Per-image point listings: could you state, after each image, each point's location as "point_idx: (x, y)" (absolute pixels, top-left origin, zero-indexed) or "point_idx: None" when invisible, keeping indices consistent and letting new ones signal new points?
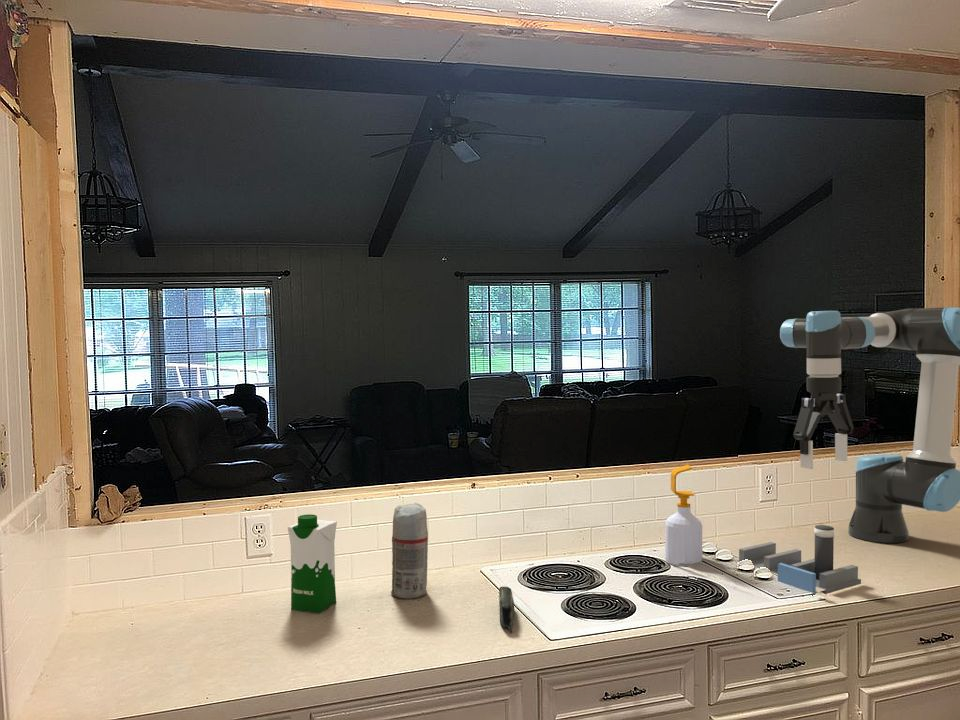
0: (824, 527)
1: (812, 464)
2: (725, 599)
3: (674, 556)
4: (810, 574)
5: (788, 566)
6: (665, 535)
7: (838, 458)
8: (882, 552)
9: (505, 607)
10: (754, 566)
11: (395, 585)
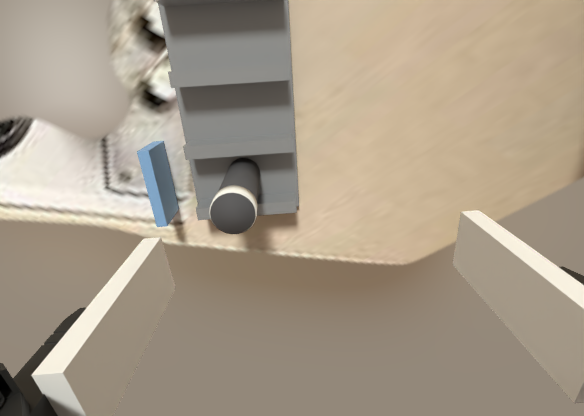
0: (232, 215)
1: (164, 302)
2: (6, 151)
3: None
4: (156, 223)
5: (146, 174)
6: None
7: (464, 234)
8: (519, 97)
9: None
10: (167, 46)
11: None
